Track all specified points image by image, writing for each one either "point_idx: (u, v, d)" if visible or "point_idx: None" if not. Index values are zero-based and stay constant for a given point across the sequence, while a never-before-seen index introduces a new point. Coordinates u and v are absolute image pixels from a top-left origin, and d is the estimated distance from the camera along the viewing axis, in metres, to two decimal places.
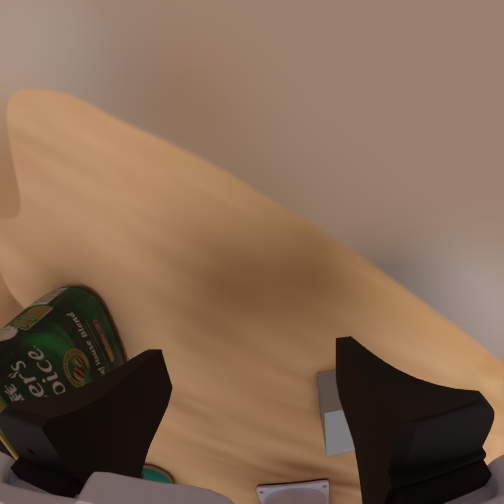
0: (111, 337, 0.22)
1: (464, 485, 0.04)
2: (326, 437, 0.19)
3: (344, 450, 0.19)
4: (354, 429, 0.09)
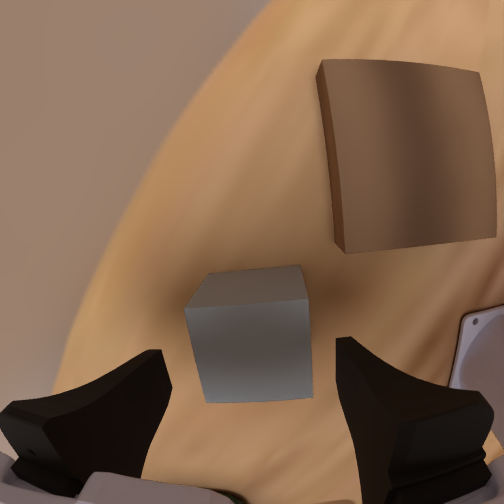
0: None
1: (464, 485, 0.04)
2: (263, 399, 0.13)
3: (303, 375, 0.13)
4: (354, 429, 0.09)
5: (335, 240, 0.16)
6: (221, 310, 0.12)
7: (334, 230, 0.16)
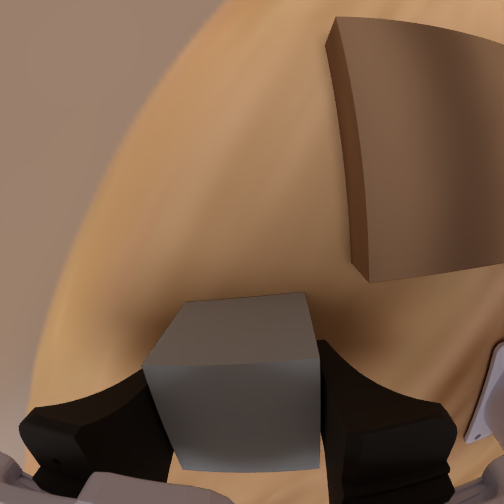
0: None
1: (424, 500, 0.04)
2: (254, 470, 0.09)
3: (307, 447, 0.09)
4: (324, 433, 0.09)
5: (352, 260, 0.12)
6: (193, 371, 0.08)
7: None
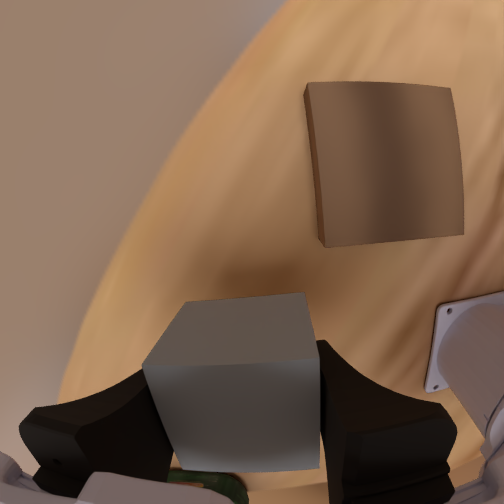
0: (189, 476, 0.24)
1: (424, 500, 0.04)
2: (254, 470, 0.09)
3: (307, 447, 0.09)
4: (324, 433, 0.09)
5: (319, 237, 0.19)
6: (193, 370, 0.08)
7: (318, 228, 0.19)
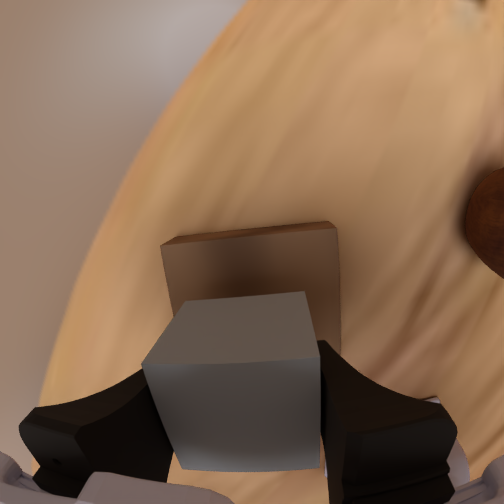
0: None
1: (424, 500, 0.04)
2: (254, 469, 0.09)
3: (307, 446, 0.09)
4: (324, 433, 0.09)
5: None
6: (193, 369, 0.08)
7: None
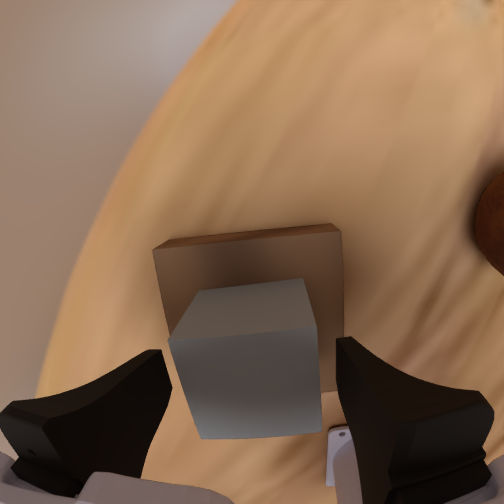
0: None
1: (464, 485, 0.04)
2: (265, 435, 0.11)
3: (310, 409, 0.10)
4: (354, 429, 0.09)
5: None
6: (212, 342, 0.10)
7: None
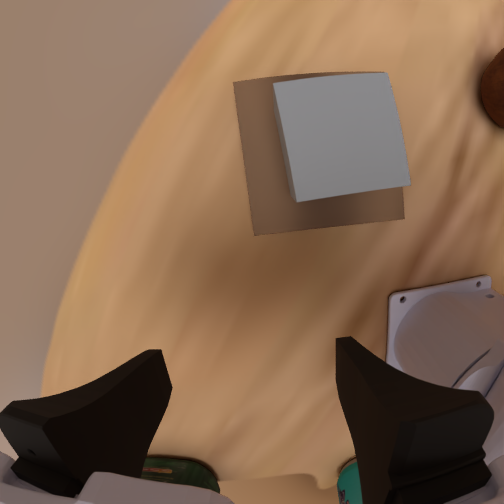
0: (160, 463, 0.25)
1: (464, 485, 0.04)
2: (361, 190, 0.12)
3: (397, 154, 0.11)
4: (354, 429, 0.09)
5: None
6: (311, 81, 0.11)
7: None
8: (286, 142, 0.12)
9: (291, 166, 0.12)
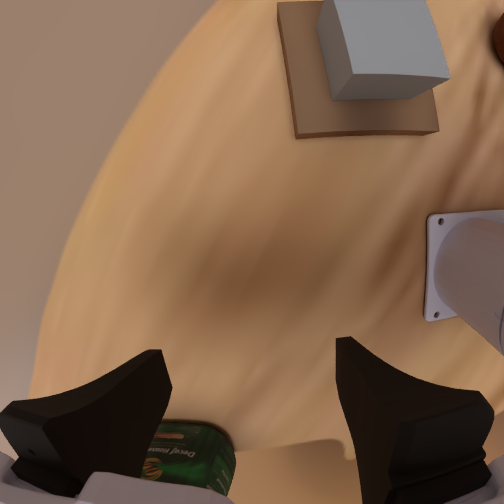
0: (169, 428, 0.23)
1: (464, 485, 0.04)
2: (409, 74, 0.11)
3: (436, 51, 0.10)
4: (354, 429, 0.09)
5: (295, 136, 0.19)
6: None
7: (294, 129, 0.19)
8: (341, 26, 0.10)
9: (347, 44, 0.11)
